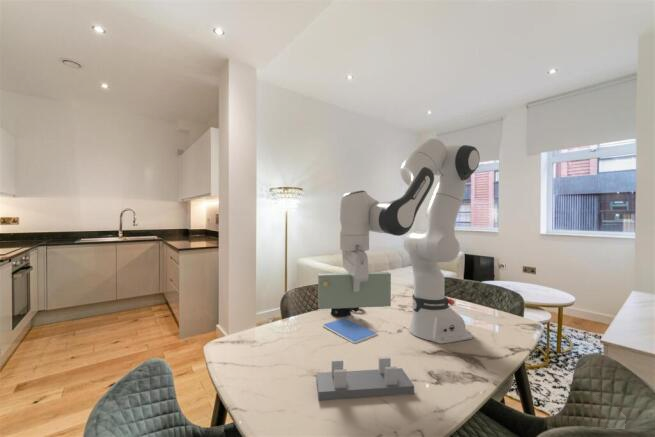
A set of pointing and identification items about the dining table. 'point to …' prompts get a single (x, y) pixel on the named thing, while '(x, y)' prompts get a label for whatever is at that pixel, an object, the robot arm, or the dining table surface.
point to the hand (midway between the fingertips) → (354, 289)
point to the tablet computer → (350, 330)
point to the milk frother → (342, 311)
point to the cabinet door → (340, 294)
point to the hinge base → (363, 381)
